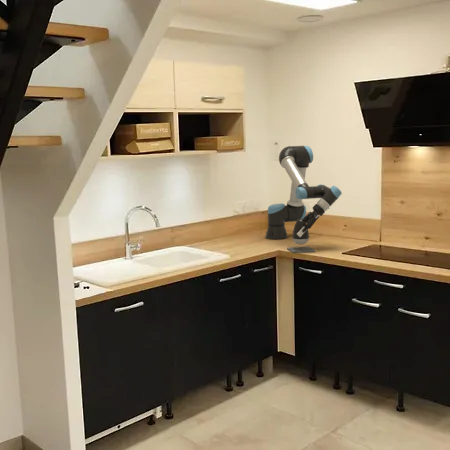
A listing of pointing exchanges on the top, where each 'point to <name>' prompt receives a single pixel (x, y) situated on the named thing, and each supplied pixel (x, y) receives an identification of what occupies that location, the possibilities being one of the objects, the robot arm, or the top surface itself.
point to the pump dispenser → (297, 228)
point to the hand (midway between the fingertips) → (296, 234)
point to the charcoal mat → (300, 249)
